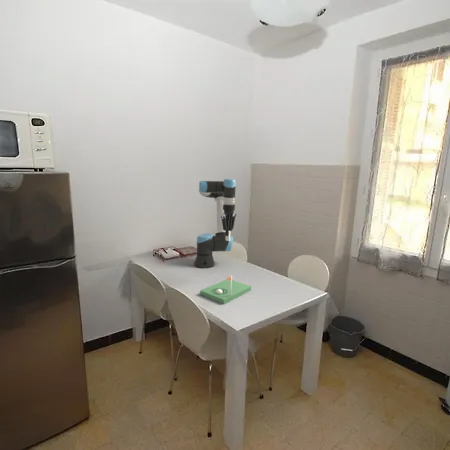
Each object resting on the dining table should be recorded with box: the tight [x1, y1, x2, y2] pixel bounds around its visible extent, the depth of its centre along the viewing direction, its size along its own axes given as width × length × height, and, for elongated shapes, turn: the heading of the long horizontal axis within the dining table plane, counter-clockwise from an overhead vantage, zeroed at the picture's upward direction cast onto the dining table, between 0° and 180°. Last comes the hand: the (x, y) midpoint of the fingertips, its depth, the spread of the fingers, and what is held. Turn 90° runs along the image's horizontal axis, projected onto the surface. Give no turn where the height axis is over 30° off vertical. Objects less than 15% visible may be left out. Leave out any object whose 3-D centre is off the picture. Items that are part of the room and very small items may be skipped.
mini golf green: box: [199, 275, 252, 305], centre depth 172 cm, size 25×18×14 cm
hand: (228, 240), depth 190 cm, fingers closed
